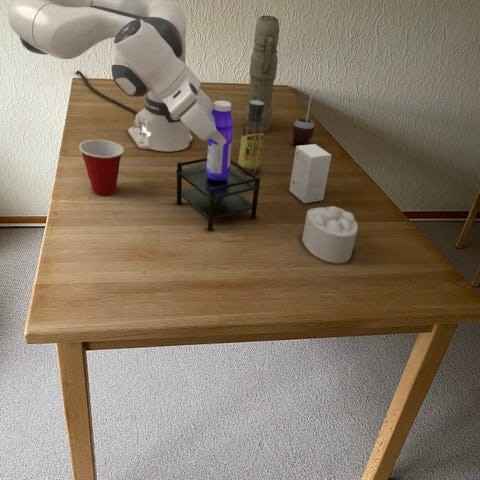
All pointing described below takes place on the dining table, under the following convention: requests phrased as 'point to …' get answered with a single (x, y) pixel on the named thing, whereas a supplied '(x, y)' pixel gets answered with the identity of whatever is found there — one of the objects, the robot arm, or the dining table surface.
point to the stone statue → (264, 66)
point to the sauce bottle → (252, 138)
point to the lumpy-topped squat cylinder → (330, 233)
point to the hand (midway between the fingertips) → (222, 136)
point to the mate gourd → (303, 129)
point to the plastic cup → (102, 164)
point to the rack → (217, 191)
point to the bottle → (218, 154)
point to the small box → (310, 173)
